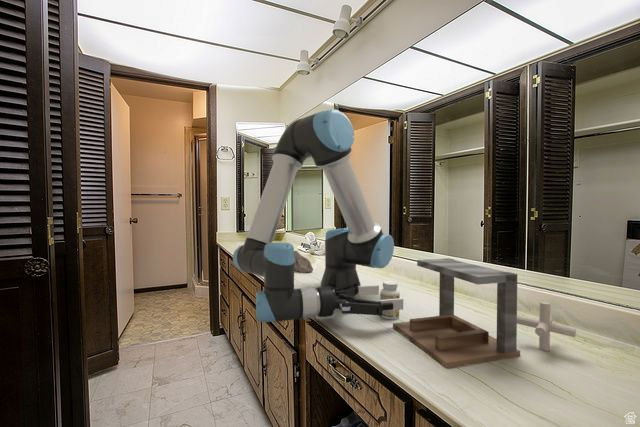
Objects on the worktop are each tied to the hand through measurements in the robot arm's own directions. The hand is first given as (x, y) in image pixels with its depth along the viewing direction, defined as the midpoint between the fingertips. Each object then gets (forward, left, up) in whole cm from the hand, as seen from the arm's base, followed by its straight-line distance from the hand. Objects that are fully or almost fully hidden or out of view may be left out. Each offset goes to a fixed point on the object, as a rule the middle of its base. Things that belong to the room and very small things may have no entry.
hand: (389, 296), depth 81 cm
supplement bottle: (0, 0, -6) cm, 6 cm away
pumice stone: (-68, -11, -6) cm, 69 cm away
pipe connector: (+26, +23, -6) cm, 35 cm away
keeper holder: (+17, +6, -6) cm, 19 cm away
